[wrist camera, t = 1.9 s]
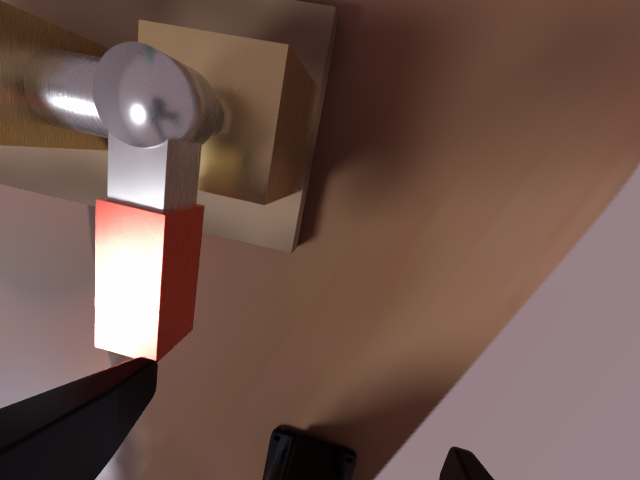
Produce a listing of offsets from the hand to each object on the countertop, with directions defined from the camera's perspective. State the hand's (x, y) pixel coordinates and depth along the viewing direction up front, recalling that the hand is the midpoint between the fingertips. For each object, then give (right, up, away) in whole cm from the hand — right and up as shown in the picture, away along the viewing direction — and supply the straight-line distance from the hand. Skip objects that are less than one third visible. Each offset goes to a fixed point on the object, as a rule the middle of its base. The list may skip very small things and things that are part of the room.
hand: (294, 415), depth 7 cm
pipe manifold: (-11, +12, +11) cm, 20 cm away
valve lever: (-5, +5, +4) cm, 8 cm away
